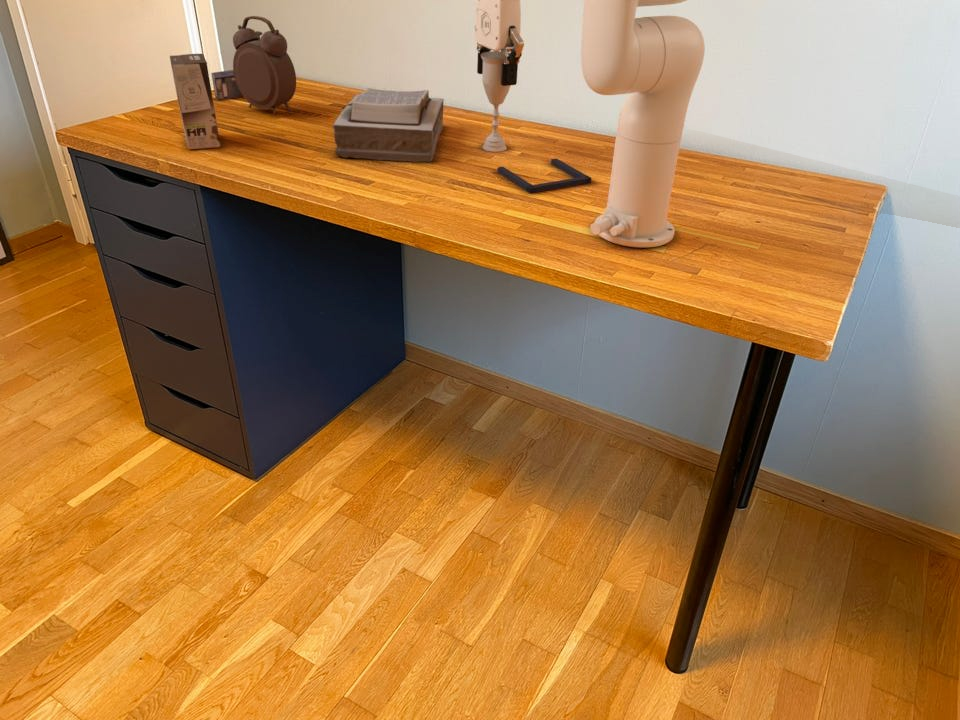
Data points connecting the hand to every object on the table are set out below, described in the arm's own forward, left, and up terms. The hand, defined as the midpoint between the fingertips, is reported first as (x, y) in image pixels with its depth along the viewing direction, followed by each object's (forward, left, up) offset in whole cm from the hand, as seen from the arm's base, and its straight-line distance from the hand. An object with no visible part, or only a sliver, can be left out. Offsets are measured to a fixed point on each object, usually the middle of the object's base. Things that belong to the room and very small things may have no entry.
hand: (496, 79), depth 144 cm
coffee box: (-42, +42, -14) cm, 61 cm away
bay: (-6, -18, -14) cm, 24 cm away
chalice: (0, 0, -14) cm, 14 cm away
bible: (-13, +17, -14) cm, 25 cm away
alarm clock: (-19, +53, -14) cm, 58 cm away
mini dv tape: (-19, +69, -14) cm, 73 cm away
